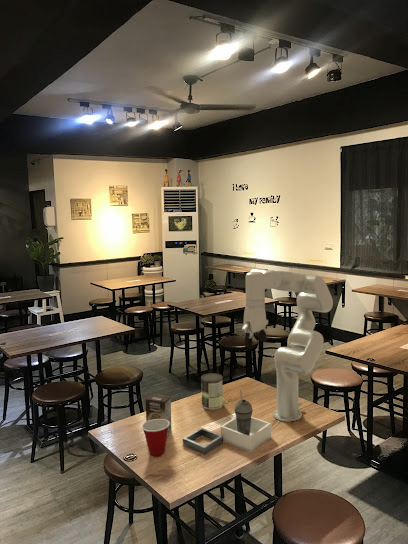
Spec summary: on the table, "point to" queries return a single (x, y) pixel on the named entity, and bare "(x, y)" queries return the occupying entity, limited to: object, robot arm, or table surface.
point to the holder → (190, 443)
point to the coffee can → (212, 391)
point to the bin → (258, 435)
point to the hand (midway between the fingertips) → (255, 344)
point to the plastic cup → (156, 436)
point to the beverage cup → (243, 416)
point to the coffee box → (159, 408)
